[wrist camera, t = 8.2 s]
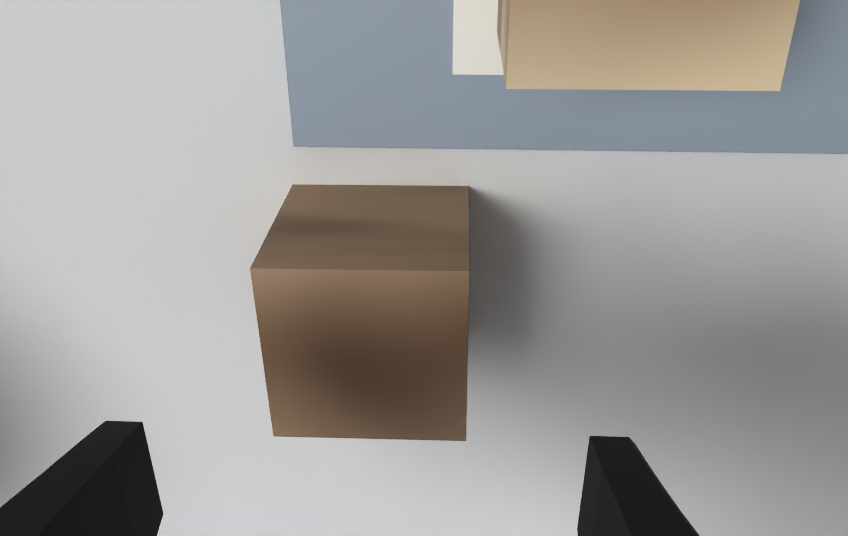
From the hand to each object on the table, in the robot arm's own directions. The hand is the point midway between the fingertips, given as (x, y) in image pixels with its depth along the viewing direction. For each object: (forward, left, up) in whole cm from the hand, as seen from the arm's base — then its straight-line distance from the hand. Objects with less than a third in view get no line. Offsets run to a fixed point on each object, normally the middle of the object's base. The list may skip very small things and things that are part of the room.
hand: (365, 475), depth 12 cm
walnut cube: (-1, +1, -9) cm, 9 cm away
